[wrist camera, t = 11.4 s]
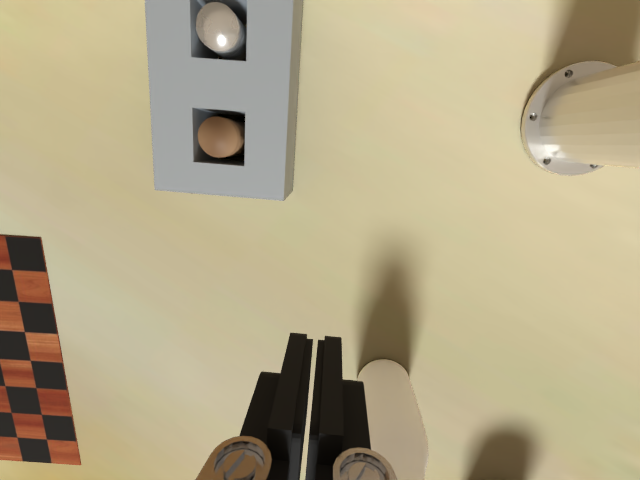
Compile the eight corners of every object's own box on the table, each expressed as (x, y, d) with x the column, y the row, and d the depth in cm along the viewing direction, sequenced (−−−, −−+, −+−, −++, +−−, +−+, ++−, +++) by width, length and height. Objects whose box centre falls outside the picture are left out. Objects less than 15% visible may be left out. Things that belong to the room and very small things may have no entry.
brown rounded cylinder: (255, 122, 42) (237, 118, 35) (254, 156, 44) (236, 159, 36) (222, 120, 43) (197, 114, 35) (222, 153, 44) (198, 155, 36)
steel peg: (257, 30, 40) (238, 3, 32) (256, 68, 41) (237, 51, 33) (222, 28, 40) (195, 0, 32) (222, 66, 41) (196, 48, 33)
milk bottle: (347, 371, 52) (353, 506, 33) (393, 348, 50) (428, 475, 31) (372, 409, 53) (393, 558, 34) (417, 388, 52) (465, 531, 33)
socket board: (303, -5, 39) (295, -42, 31) (292, 190, 45) (283, 200, 37) (180, -14, 39) (142, -52, 32) (185, 182, 45) (154, 190, 38)
